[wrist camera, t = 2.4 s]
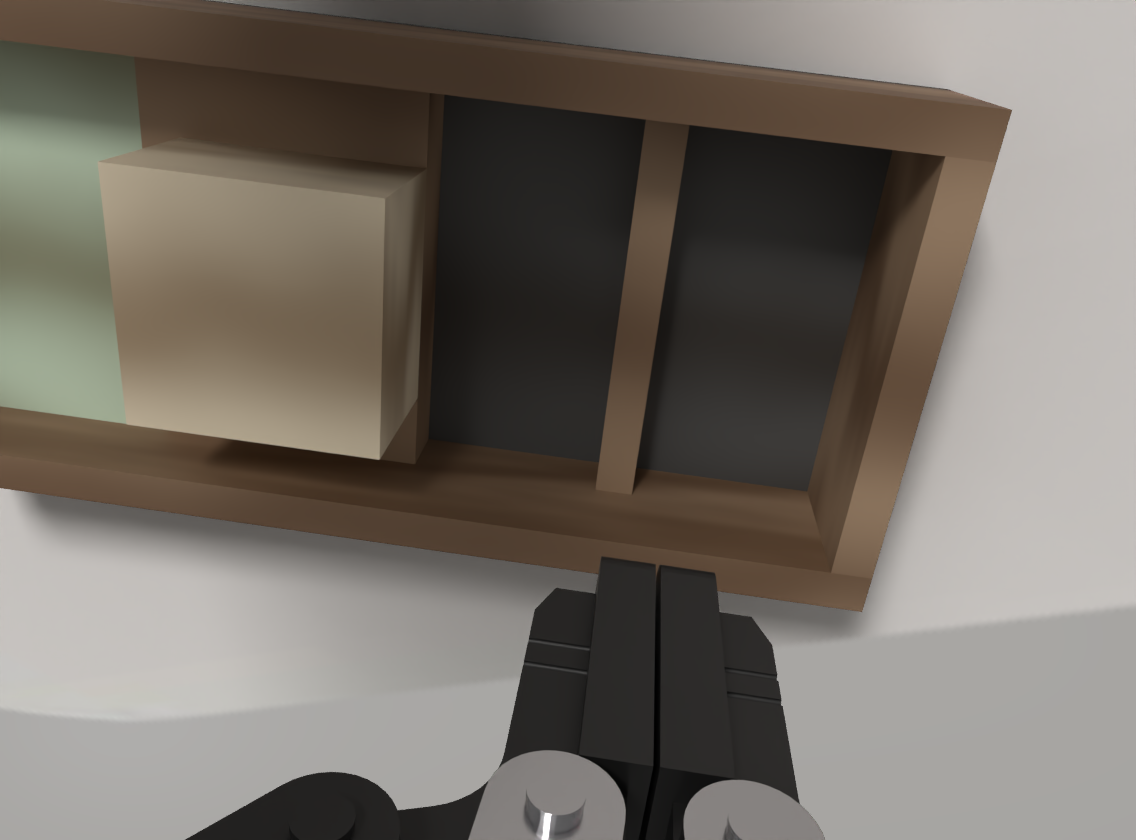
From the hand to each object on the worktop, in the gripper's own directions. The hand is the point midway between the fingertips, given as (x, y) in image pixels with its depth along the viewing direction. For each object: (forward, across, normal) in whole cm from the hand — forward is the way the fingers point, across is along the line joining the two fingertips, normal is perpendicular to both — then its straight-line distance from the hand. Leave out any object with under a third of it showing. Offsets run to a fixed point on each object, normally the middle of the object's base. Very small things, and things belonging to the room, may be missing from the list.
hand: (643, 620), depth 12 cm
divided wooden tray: (+14, +7, 0) cm, 16 cm away
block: (+12, +9, 0) cm, 15 cm away
